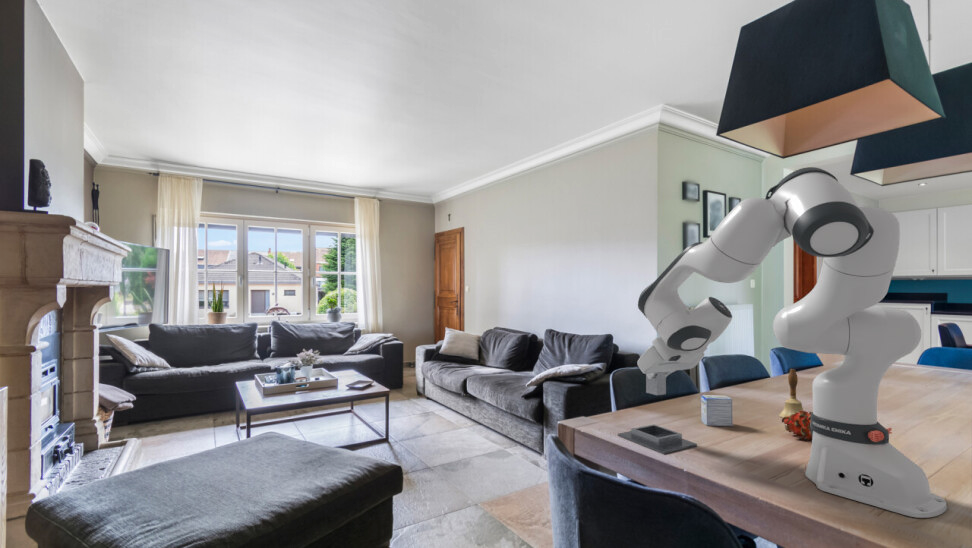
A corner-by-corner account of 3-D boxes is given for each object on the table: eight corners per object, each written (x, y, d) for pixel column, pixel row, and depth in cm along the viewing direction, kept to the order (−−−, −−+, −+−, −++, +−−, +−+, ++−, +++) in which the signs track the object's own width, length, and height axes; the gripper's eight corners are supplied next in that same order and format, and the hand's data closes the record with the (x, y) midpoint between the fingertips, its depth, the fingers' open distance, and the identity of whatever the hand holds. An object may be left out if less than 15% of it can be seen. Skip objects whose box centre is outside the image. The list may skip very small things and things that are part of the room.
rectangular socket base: (696, 446, 119) (696, 436, 119) (663, 454, 113) (663, 443, 113) (649, 429, 133) (649, 420, 133) (618, 435, 127) (618, 426, 127)
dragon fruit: (830, 452, 119) (785, 445, 130) (841, 430, 123) (796, 424, 134) (814, 428, 118) (770, 422, 129) (825, 406, 122) (782, 402, 133)
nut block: (666, 394, 126) (665, 361, 126) (657, 395, 124) (656, 361, 124) (655, 391, 129) (654, 359, 130) (646, 392, 128) (646, 359, 128)
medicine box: (726, 422, 141) (726, 395, 141) (733, 427, 136) (732, 398, 136) (701, 421, 141) (700, 394, 142) (706, 426, 137) (706, 398, 137)
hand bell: (773, 413, 151) (772, 367, 151) (797, 414, 151) (796, 367, 151) (789, 421, 142) (788, 371, 143) (815, 421, 142) (814, 371, 143)
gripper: (702, 335, 125) (674, 364, 134) (650, 338, 116) (623, 369, 125) (717, 353, 121) (687, 382, 129) (663, 358, 112) (635, 388, 120)
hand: (655, 376), depth 127 cm, fingers closed on nut block, 3 cm apart
